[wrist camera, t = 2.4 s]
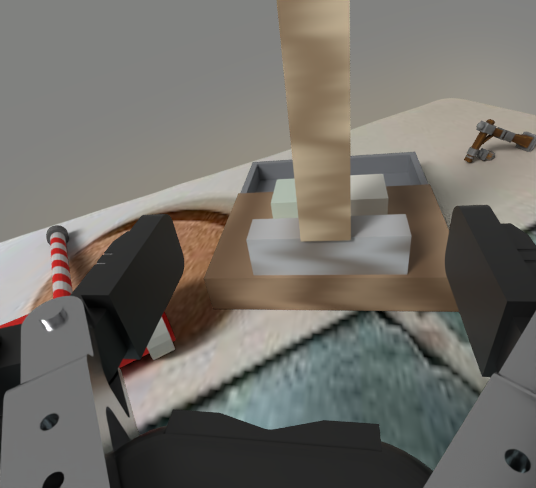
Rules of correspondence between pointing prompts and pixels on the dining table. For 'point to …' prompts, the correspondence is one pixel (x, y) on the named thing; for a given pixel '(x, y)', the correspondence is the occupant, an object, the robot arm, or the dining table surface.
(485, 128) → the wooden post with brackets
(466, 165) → the dining table surface
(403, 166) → the tray
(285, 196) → the tile
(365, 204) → the tile
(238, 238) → the board
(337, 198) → the scraper
